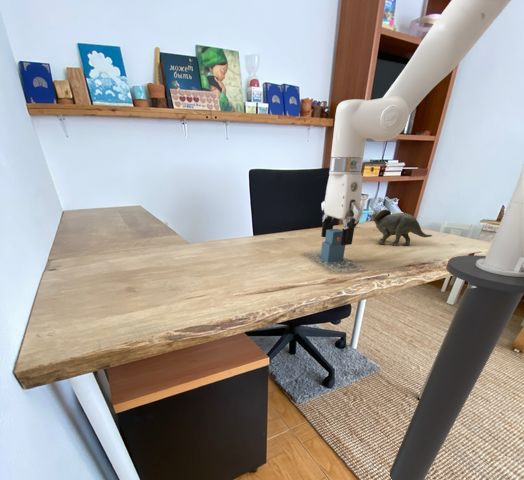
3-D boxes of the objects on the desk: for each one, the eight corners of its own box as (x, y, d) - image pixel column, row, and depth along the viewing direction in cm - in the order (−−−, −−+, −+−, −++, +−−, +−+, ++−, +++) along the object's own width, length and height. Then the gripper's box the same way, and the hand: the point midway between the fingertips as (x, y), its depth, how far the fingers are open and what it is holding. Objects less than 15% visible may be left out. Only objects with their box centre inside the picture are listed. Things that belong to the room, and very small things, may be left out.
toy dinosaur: (429, 247, 99) (441, 210, 93) (422, 252, 94) (434, 213, 88) (367, 237, 111) (374, 204, 105) (358, 241, 105) (364, 206, 99)
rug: (333, 274, 74) (334, 270, 74) (301, 253, 90) (301, 250, 89) (366, 270, 77) (367, 267, 76) (330, 251, 92) (330, 248, 92)
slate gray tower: (343, 262, 82) (348, 231, 78) (328, 264, 81) (332, 232, 76) (335, 258, 86) (339, 228, 81) (320, 259, 84) (323, 229, 80)
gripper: (382, 167, 65) (366, 246, 75) (339, 166, 79) (331, 233, 88) (353, 168, 63) (341, 249, 72) (314, 166, 77) (308, 235, 86)
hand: (335, 240), depth 80 cm, fingers open, 9 cm apart
